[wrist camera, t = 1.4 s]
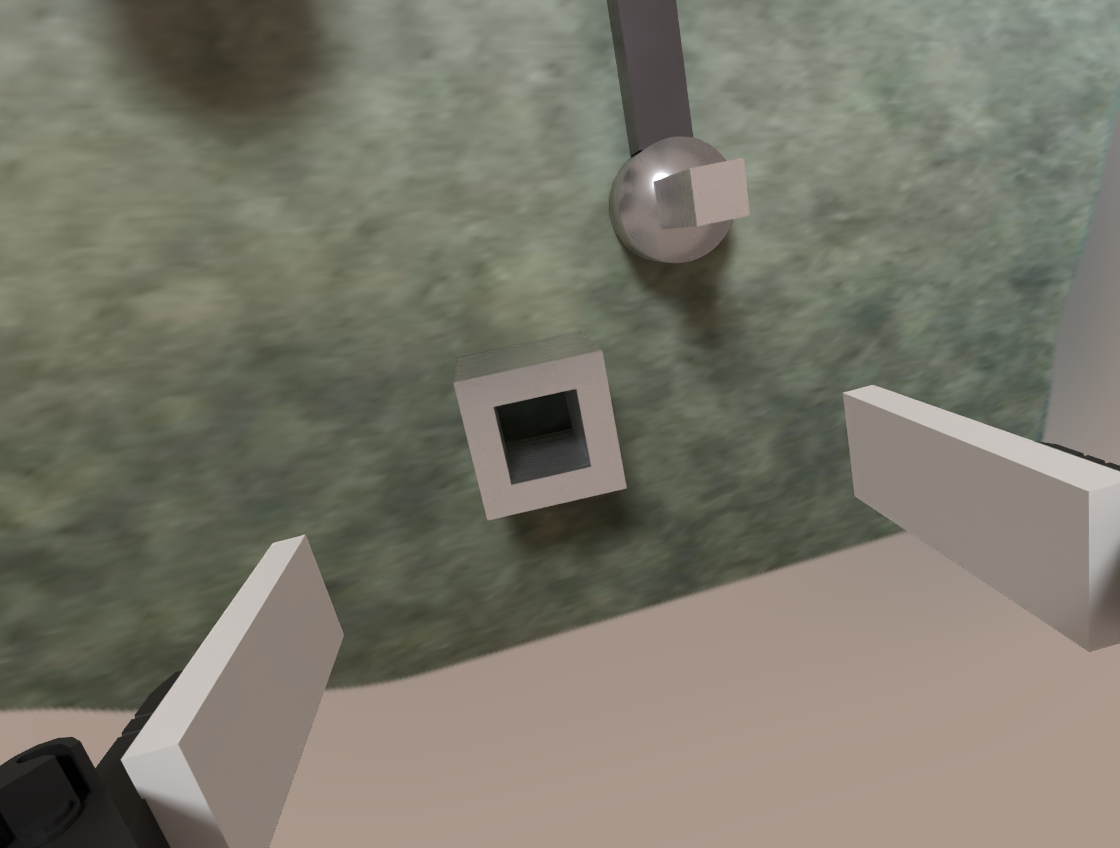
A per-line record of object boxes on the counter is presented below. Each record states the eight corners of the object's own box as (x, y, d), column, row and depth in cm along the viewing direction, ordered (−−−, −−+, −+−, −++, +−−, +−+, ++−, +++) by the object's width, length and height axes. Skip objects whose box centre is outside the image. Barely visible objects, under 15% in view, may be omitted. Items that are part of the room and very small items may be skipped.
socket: (485, 472, 33) (487, 520, 27) (457, 357, 31) (453, 382, 26) (600, 446, 33) (626, 488, 28) (579, 331, 32) (602, 350, 26)
